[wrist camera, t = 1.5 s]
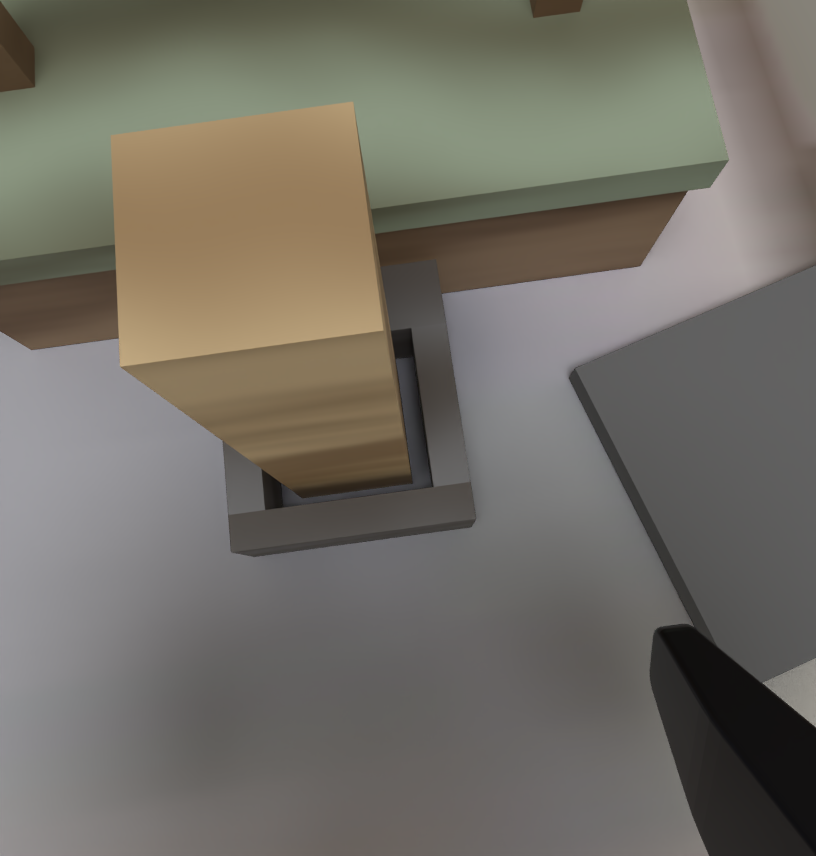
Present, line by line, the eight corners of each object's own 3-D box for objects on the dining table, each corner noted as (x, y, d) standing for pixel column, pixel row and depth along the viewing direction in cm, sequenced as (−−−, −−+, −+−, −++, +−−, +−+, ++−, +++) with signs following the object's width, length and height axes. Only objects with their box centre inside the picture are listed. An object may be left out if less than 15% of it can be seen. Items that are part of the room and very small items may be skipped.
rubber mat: (1032, 545, 21) (1061, 543, 20) (725, 687, 20) (741, 692, 19) (849, 257, 23) (868, 242, 22) (568, 378, 22) (575, 368, 21)
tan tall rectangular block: (412, 483, 22) (383, 329, 9) (302, 498, 22) (120, 366, 9) (398, 377, 22) (353, 101, 10) (292, 392, 22) (110, 135, 10)
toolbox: (701, 495, 21) (1081, 359, 9) (24, 588, 21) (-549, 583, 9) (589, 2, 25) (740, -567, 13) (20, 81, 25) (-377, -409, 13)
